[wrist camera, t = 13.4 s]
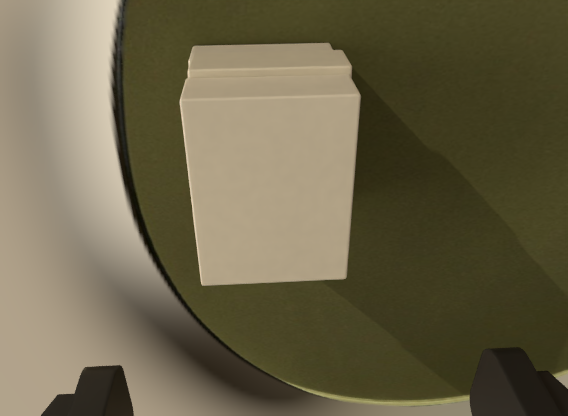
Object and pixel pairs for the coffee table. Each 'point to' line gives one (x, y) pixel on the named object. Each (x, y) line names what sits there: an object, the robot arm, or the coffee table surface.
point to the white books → (267, 60)
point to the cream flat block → (271, 175)
